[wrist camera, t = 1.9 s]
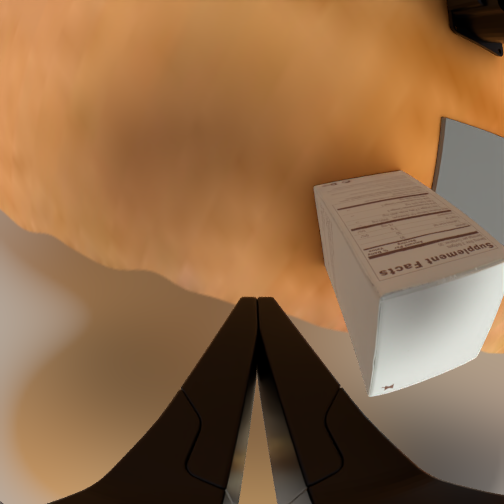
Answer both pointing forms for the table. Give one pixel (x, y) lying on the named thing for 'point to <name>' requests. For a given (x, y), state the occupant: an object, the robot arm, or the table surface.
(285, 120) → the table surface
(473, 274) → the supplement box
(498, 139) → the mat
